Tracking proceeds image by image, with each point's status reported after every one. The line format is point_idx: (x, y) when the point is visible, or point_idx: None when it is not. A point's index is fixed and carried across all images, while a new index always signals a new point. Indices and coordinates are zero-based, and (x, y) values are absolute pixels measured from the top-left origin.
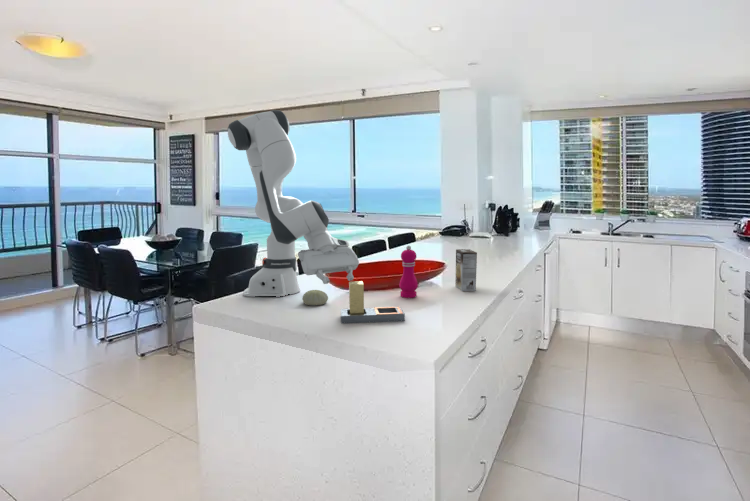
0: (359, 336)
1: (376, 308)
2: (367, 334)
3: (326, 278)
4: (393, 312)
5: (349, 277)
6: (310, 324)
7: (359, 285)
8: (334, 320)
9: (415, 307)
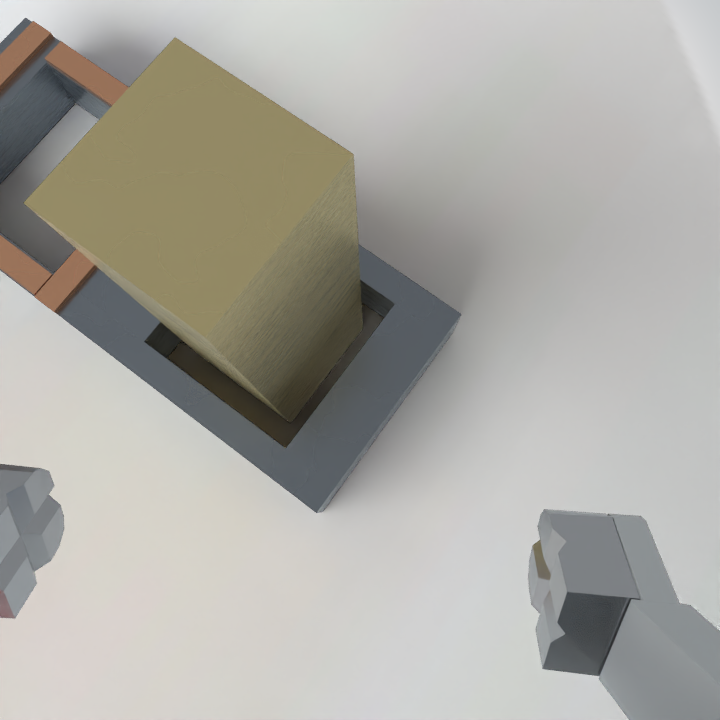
0: (529, 31)
1: (66, 268)
2: (462, 26)
3: (615, 554)
4: None
5: (34, 494)
6: (674, 498)
7: (231, 82)
8: (444, 446)
9: None
